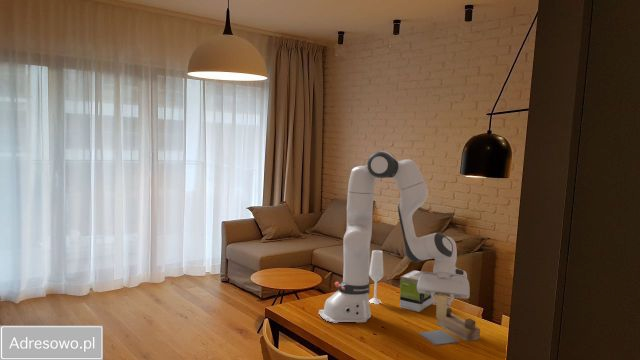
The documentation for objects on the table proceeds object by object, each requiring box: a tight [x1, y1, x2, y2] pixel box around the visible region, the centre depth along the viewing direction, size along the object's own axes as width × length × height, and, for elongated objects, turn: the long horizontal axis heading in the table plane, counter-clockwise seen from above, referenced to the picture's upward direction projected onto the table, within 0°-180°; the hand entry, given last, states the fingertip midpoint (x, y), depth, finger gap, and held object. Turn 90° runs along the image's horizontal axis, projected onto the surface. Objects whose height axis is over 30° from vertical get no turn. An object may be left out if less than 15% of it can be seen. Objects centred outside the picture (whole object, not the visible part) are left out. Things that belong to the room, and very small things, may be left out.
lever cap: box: [435, 293, 448, 319], centre depth 179 cm, size 4×4×8 cm
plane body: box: [436, 306, 481, 342], centre depth 183 cm, size 7×18×7 cm, turn 22°
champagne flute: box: [369, 249, 384, 305], centre depth 215 cm, size 7×7×24 cm
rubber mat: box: [418, 329, 461, 346], centre depth 176 cm, size 11×11×1 cm
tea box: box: [399, 269, 433, 313], centre depth 212 cm, size 15×10×15 cm, turn 144°
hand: (441, 304), depth 178 cm, fingers closed on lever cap, 4 cm apart
